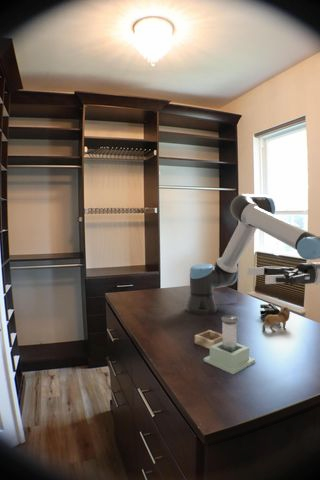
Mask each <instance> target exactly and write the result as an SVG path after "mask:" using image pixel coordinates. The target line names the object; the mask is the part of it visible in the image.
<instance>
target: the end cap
mask: <svg viewBox="0 0 320 480" xmlns="http://www.w3.org/2000/svg"><path fill="white" fill-rule="evenodd" d="M259 305H260V307H259V308H260V309H262V310H259V312H260V318H261V319H262V321H263V322H264V321H265V318H266V316H267V315H278V314H279V312H280V310H281V309H279V308H278V307H277V306H275V304H273V303H272V302H268V304H267V303H266V304H265V303H264V304H263V303H262V304H259Z"/></svg>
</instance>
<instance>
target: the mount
mask: <svg viewBox="0 0 320 480" xmlns="http://www.w3.org/2000/svg"><path fill="white" fill-rule="evenodd" d="M220 342H222V333H220V332H218V331H214V330H211V329H208V330H205V331H203V332H201V333H196V334H195V335H194V344H196V345H199V346H202V347H204V348H206V349H209V350H210V346H213V345H215V344H217V343H220Z"/></svg>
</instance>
